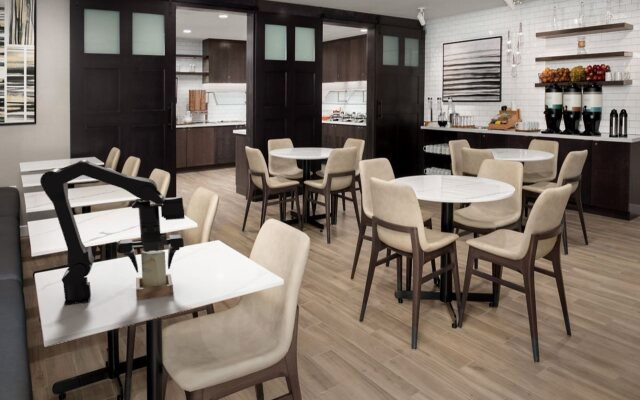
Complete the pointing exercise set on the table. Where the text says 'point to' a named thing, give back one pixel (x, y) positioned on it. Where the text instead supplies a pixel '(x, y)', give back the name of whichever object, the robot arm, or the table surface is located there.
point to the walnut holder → (154, 289)
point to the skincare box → (153, 268)
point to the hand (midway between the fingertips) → (153, 270)
